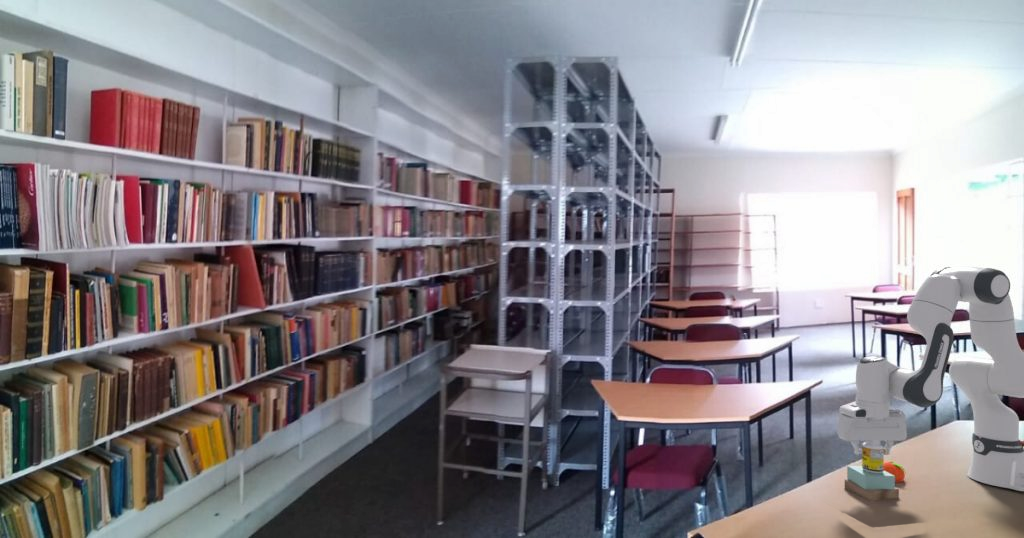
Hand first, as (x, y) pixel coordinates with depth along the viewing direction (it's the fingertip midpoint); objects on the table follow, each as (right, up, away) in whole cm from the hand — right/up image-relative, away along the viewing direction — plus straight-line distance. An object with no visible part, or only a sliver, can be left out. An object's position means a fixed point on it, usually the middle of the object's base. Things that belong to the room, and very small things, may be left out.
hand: (871, 454), depth 175 cm
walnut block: (0, -13, 0) cm, 13 cm away
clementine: (+14, -13, +10) cm, 22 cm away
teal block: (0, -9, 0) cm, 9 cm away
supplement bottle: (0, -5, 0) cm, 5 cm away
